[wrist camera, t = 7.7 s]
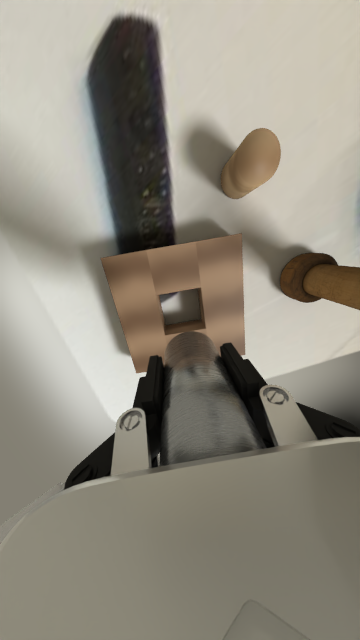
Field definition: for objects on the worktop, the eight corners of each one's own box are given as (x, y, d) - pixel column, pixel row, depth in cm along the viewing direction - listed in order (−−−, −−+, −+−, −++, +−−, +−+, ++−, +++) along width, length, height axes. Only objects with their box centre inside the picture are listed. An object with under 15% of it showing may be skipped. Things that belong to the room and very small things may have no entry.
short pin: (221, 156, 20) (240, 127, 15) (256, 157, 20) (284, 129, 15) (219, 198, 21) (235, 184, 16) (251, 198, 21) (276, 184, 17)
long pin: (159, 336, 13) (141, 494, 4) (213, 326, 13) (299, 467, 4) (169, 379, 14) (170, 562, 6) (218, 371, 14) (289, 542, 6)
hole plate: (110, 257, 23) (100, 258, 20) (231, 236, 23) (241, 233, 19) (140, 359, 29) (136, 373, 25) (236, 342, 29) (245, 354, 25)
